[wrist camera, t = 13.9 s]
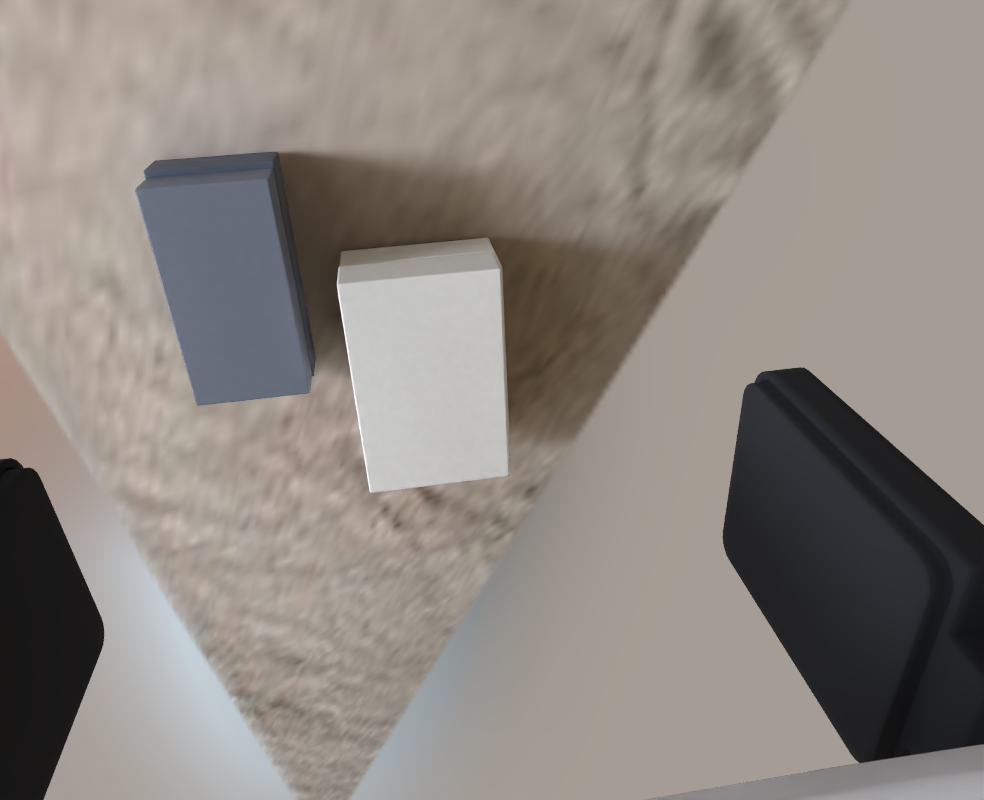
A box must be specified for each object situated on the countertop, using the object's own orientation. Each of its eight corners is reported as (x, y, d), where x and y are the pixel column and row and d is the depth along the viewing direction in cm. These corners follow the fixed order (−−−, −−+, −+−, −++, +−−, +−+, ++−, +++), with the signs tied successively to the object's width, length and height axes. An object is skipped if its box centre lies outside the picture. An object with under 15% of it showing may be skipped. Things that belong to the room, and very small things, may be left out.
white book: (337, 266, 33) (336, 284, 31) (493, 252, 33) (501, 268, 32) (369, 468, 38) (369, 493, 36) (502, 452, 39) (509, 476, 37)
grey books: (154, 160, 33) (130, 181, 30) (277, 151, 34) (268, 171, 31) (210, 370, 39) (196, 408, 35) (316, 359, 40) (311, 395, 36)
